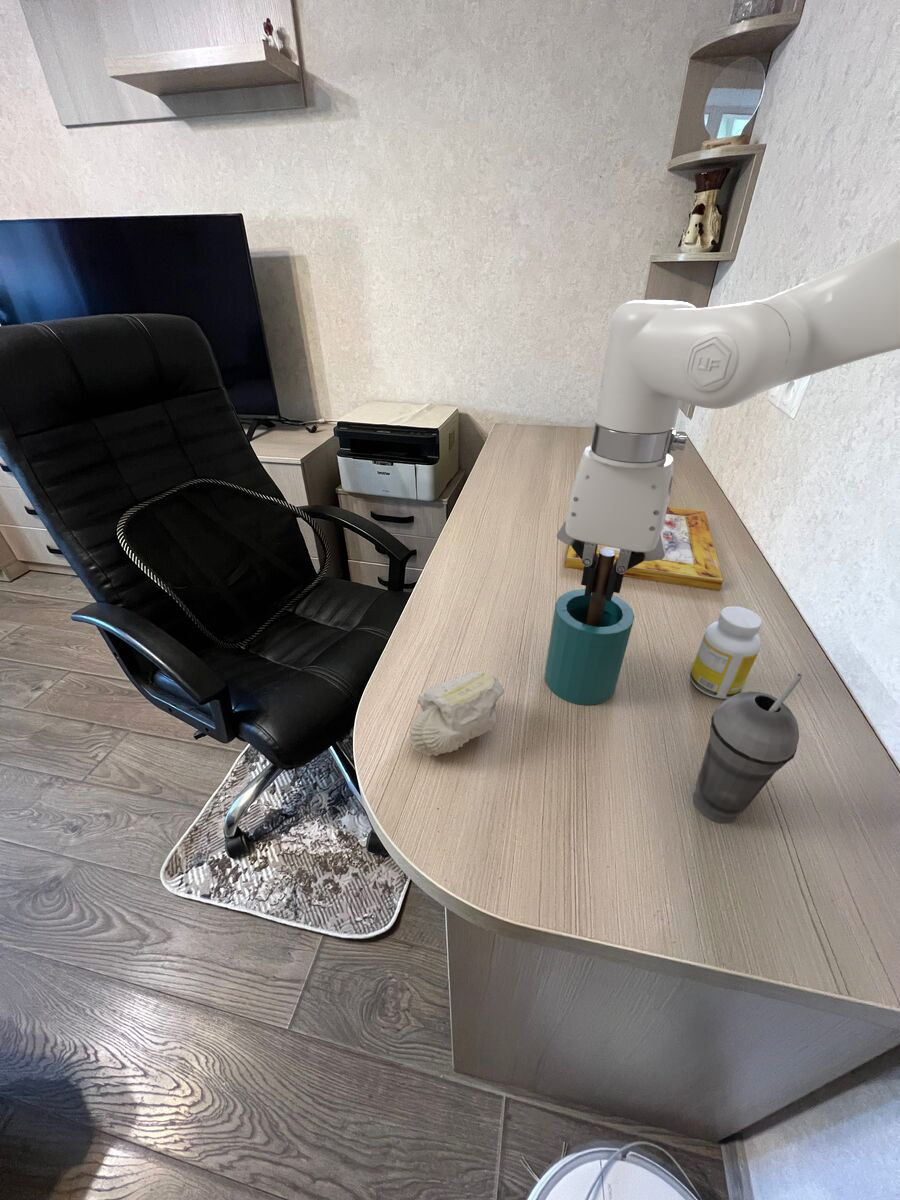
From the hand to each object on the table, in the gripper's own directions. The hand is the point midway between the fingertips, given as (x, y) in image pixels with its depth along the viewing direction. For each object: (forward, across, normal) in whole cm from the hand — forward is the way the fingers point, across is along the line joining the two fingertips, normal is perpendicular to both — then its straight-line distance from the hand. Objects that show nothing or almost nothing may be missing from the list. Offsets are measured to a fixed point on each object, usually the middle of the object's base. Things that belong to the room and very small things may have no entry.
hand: (599, 592), depth 61 cm
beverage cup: (+15, -17, +13) cm, 26 cm away
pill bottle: (+15, -17, -7) cm, 24 cm away
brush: (+12, 0, 0) cm, 12 cm away
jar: (+15, 0, 0) cm, 15 cm away
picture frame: (+15, -2, -46) cm, 48 cm away
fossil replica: (+15, +12, +16) cm, 25 cm away
